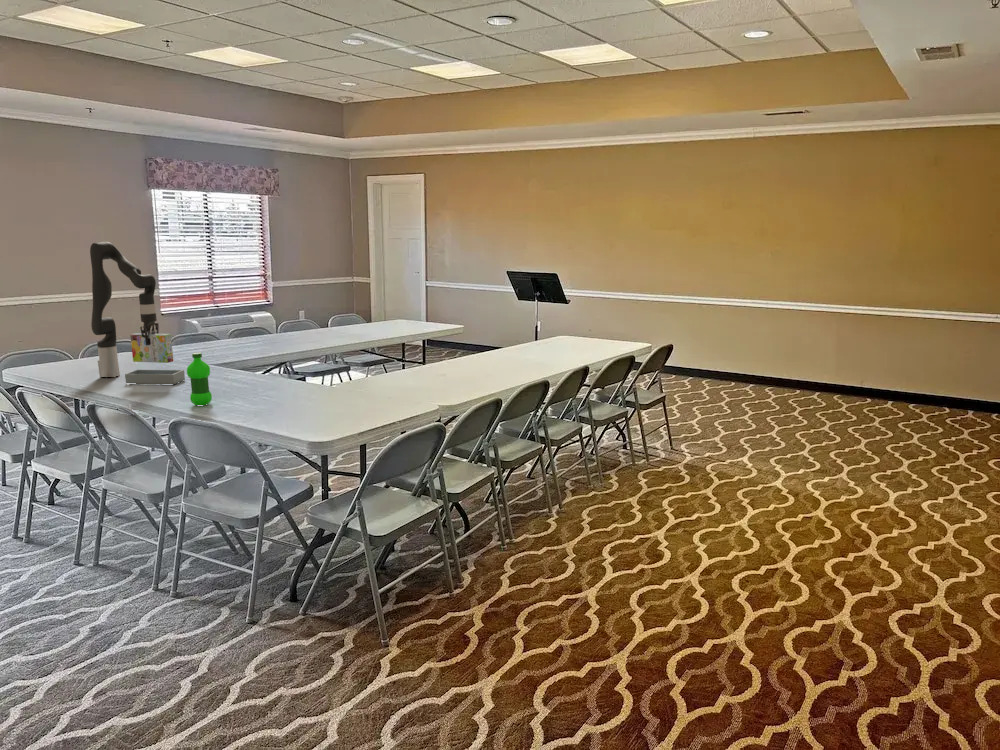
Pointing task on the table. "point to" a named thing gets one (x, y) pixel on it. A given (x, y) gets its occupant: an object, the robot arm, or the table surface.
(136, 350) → the snack box
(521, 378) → the table surface
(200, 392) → the plastic bottle
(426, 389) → the table surface
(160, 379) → the bin
